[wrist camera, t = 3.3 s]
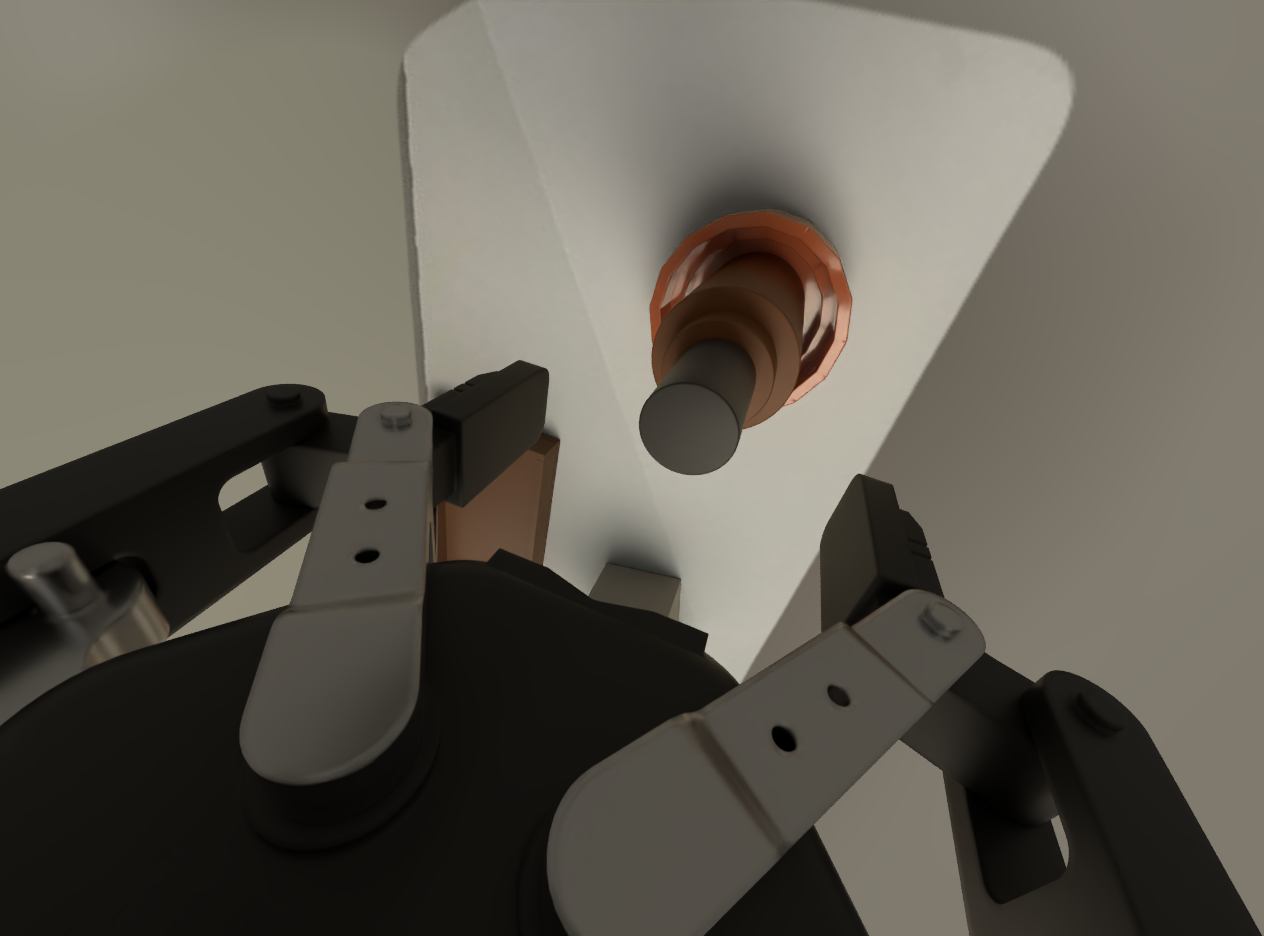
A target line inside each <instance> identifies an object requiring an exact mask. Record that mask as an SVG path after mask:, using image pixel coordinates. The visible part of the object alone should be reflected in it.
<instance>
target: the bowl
mask: <svg viewBox="0 0 1264 936" xmlns="http://www.w3.org/2000/svg"><path fill="white" fill-rule="evenodd" d="M752 252H763V253H769V254H773V255H776V256H778V257H780V258H782V259H783V260H785V261H786V262H788V263H789V264H790V265H791V266H792V267H793V268H794V270H795V271H796V272H797V274H798V275H799V277H800V279H801V282H802V284H803V288H804V293H805V310H804V325H803V339H802V353H801V366H800V372H799V376H798V380H797V383H796V385H795V388H794V390H793V392H792V394H791V395H790V397H789V398H788V400H787V401H786V403H785V404H784V405H783V406H786V405H789V404H792V403H794V402H796V401H798V400H799V399H800V398H801V397H803V396H804V395H805V394H806V393H808V392H809V391H810V390H811V389H813V388H814V387H815V386H816V385H818V384H819V383H820V382H821V381H823V380H824V379H825V378H826V377H827V375H828V374H829V372H830V370H831V369H832V367H833V365H834V363H835V362H836V360H837V358H838V356H839V355H840V353H841V351H842V350H843V348H844V346H845V344H846V341H847V338H848V330H849V323H850V315H851V307H852V296H851V293H850V290H849V287H848V283H847V280H846V277H845V274H844V270H843V267H842V264H841V261H840V258H839V255H838V253H837V250H836V249H835V247H834V246H833V245H832V244H831V243H830V242H829V240H828V239H827V238H826V237H825V236H824V235H823V234H822V233H821V232H820V231H819V230H818V229H817V228H816V227H815V226H814V225H813V224H812V223H811V222H809V221H808V220H806V219H803V218H800V217H798V216H795V215H792V214H789V213H787V212H784V211H781V210H778V209H774V208H771V209H761V210H751V211H741V212H736V213H732V214H729V215H725V216H722V217H721V218H719V219H717V220H715V221H714V222H712V223H710V224H708V225H706V226H705V227H703V228H701V229H699V230H698V231H696V232H694V233H692V234H690V235H689V236H687V237H686V238H685V239H684V241H683V242H682V243H681V244H680V246H679V247H678V248H677V249H676V251H675V252H674V253H673V254H672V256H671V257H670V258H669V260H668V261H667V262H666V263H665V265H664V266H663V267H662V269H661V271H660V274H659V277H658V280H657V283H656V287H655V290H654V293H653V297H652V300H651V303H650V322H651V336H652V343H654V339H655V335H656V333H657V330H658V328H659V326H660V324H661V322H662V321H663V319H664V318H665V316H666V315H667V314H668V312H669V311H670V310H671V309H672V308H673V307H674V306H675V305H676V304H677V303H679V302H680V301H681V300H682V299H683V298H685V297H686V296H687V295H688V294H689V293H691V292H692V291H693V290H694V289H695V288H696V287H698V286H699V285H700V284H701V283H702V282H704V281H705V280H706V279H707V278H708V277H710V276H711V275H712V274H713V273H714V272H716V271H717V270H718V269H719V268H720V267H722V266H723V265H724V264H725V263H727V262H728V261H730V260H731V259H733V258H735V257H737V256H740V255H743V254H746V253H752ZM783 406H782V407H783Z"/></svg>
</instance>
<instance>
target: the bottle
mask: <svg viewBox="0 0 1264 936" xmlns="http://www.w3.org/2000/svg"><path fill="white" fill-rule="evenodd" d="M804 310H805V293H804V288H803V284H802V282H801V279H800V277H799V275H798V274H797V272H796V271H795V270H794V268H793V267H792V266H791V265H790V264H789V263H788V262H786V261H785V260H783V259H782V258H780V257H778V256H776V255H773V254H769V253H763V252H752V253H746V254H743V255H740V256H737V257H735V258H733V259H731V260H730V261H728V262H727V263H725V264H724V265H723V266H722V267H720V268H719V269H718V270H717V271H716V272H714V273H713V274H712V275H711V276H710V277H708V278H707V279H706V280H705V281H704V282H702V283H701V284H700V285H699V286H698V287H696V288H695V289H694V290H693V291H692V292H691V293H689V294H688V295H687V296H686V297H685V298H683V299H682V300H681V301H680V302H679V303H677V304H676V305H675V306H674V307H673V308H672V309H671V310H670V311H669V312H668V314H667V315H666V316H665V318H664V319H663V321H662V322H661V324H660V326H659V328H658V330H657V333H656V335H655V339H654V343H653V348H652V369H653V374H654V378H655V382H656V384H657V386H658V387H657V388H656V389H655V390H654V392H653V393H652V394H651V395H650V397H649V398H648V399H647V400H646V402H645V404H644V405H643V408H642V410H641V414H640V419H639V430H640V435H641V439H642V441H643V444H644V446H645V448H646V449H647V451H648V452H649V454H650V455H651V456H652V457H653V458H654V459H655V460H656V461H657V462H658V463H660V464H661V465H662V466H664V467H665V468H667V469H669V470H671V471H674V472H677V473H680V474H686V475H702V474H706V473H710V472H713V471H715V470H717V469H719V468H720V467H722V466H723V465H725V464H726V463H727V462H728V461H729V460H730V458H731V457H732V456H733V454H734V453H735V451H736V448H737V446H738V443H739V439H740V436H741V432H742V429H746V428H750V427H752V426H755V425H757V424H760V423H761V422H763V421H765V420H767V419H768V418H770V417H771V416H772V415H774V414H775V413H776V412H777V411H778V410H779V409H780V408H781V407H782V406H783V405H784V404H785V403H786V401H787V400H788V398H789V397H790V395H791V394H792V392H793V390H794V388H795V385H796V383H797V380H798V376H799V372H800V366H801V353H802V339H803V325H804Z"/></svg>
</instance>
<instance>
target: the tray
mask: <svg viewBox="0 0 1264 936" xmlns="http://www.w3.org/2000/svg"><path fill="white" fill-rule="evenodd" d="M559 445H560V440H558V439H556V438H553V437H550V436H547V435H545V434H542V433H541V435H540V437H539V439H538V440H537V442H536V443H535V444H534V445H533V446H532V447H530V448H529V449H528V450H527V451H526V452H525V453H524V454H523V455H522V456H520V457H519V458H518V459H517V460H516V461H515V462H514V463H513V464H512V465H510V466H509V467H508V468H507V469H506V470H505V471H504V472H503V473H501V474H500V475H499V476H498V477H497V478H496V479H495V480H494V481H493V482H491V483H490V484H489V485H488V486H487V487H486V488H485V489H484V490H483V491H481V492H480V493H479V494H478V495H477V496H476V497H475V498H474V499H472V500H471V501H470V502H469V503H468V504H467V505H466V506H465V507H464V508H460V507H458V506H455V505H453V504H450V503H448V502H445V501H443V502H441V503H440V504H439V505H438V506H437V514H438V528H437V562H440V561H449V560H478V561H485V562H487V561H488V560H489V559H490V558H491V557H492V556H493V555H494V553H495V552H496V551H497V550H498V549H499V548H501V549H504V550H506V551H508V552H511V553H513V554H516V555H518V556H521V557H523V558H525V559H528V560H530V561H533V562H535V563H538V564H540V565H542V566H543V559H544V552H545V545H546V538H547V531H548V524H549V516H550V509H551V502H552V495H553V488H554V481H555V474H556V467H557V459H558V452H559Z"/></svg>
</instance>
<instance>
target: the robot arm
mask: <svg viewBox="0 0 1264 936" xmlns="http://www.w3.org/2000/svg"><path fill="white" fill-rule="evenodd" d="M548 386H549V372H548V370H547V369H546V368H543V367H540V366H537V365H534V364H531V363H528V362H525V361H522V360H518V361H516V362H515V363H513V364H511V365H509V366H507V367H506V368H504V369H502V370H500V371H499V372H498V371H495V372H490V373H485V374H481V375H477V376H476V377H474V378H472V379H470V380H468V381H466V382H465V384H461V385H459V386H457V387H455V388H454V390H450V391H448V392H446V393H444V394H442V395H441V396H439V397H437V398H435V399H433V400H431V401H429V402H428V403H426V404H424V405H422V406H420V405H417V404H413V403H408V402H386V403H380V404H376V405H373V406H371V407H368V408H367V409H365V410H363V411H362V412H361V413H360V415H359V417H357V416H351V415H345V414H338V413H332V412H328V410H327V405H326V400H325V395H324V394H323V392H321V391H320V390H318V389H316V388H314V387H311V386H306V385H300V384H279V385H271V386H266V387H262V388H259V389H256V390H253V391H251V392H248V393H246V394H243V395H240V396H238V397H236V398H233V399H230V400H228V401H225V402H223V403H220V404H218V405H215V406H213V407H210V408H207V409H205V410H202V411H200V412H197V413H194V414H192V415H189V416H187V417H184V418H182V419H179V420H176V421H174V422H171V423H169V424H167V425H164V426H161V427H159V428H156V429H153V430H151V431H148V432H146V433H143V434H141V435H138V436H135V437H133V438H130V439H128V440H125V441H123V442H120V443H117V444H115V445H112V446H110V447H107V448H105V449H102V450H100V451H97V452H94V453H92V454H89V455H87V456H84V457H82V458H79V459H77V460H74V461H71V462H69V463H66V464H64V465H61V466H59V467H56V468H53V469H51V470H48V471H46V472H43V473H41V474H38V475H35V476H33V477H30V478H28V479H25V480H23V481H20V482H18V483H15V484H12V485H10V486H7V487H5V488H2V489H0V936H869V935H868V933H867V931H866V929H865V927H864V925H863V923H862V921H861V919H860V917H859V915H858V913H857V911H856V909H855V907H854V905H853V903H852V901H851V899H850V897H849V895H848V893H847V891H846V889H845V887H844V885H843V883H842V881H841V879H840V877H839V875H838V873H837V870H836V868H835V866H834V864H833V863H832V861H831V858H830V856H829V854H828V852H827V850H826V848H825V846H824V844H823V843H822V840H821V838H820V836H819V834H818V832H817V830H816V828H815V826H814V824H815V823H816V822H817V821H818V819H820V818H821V816H823V815H824V814H825V813H826V812H827V811H828V809H830V807H832V806H833V805H834V804H835V802H837V801H838V799H840V798H841V797H842V796H843V795H844V794H845V793H846V792H847V791H848V790H849V789H850V788H851V787H852V786H853V785H854V784H855V782H857V781H858V780H859V779H860V778H861V777H862V776H863V775H864V773H866V772H867V770H869V769H870V768H871V767H872V766H873V764H875V763H876V762H877V761H878V760H879V759H880V758H881V757H882V756H883V754H885V753H886V751H888V750H889V749H890V748H891V747H892V746H893V745H894V744H895V743H896V741H897V740H901V741H902V742H903V743H905V744H906V745H908V746H909V747H910V748H912V749H913V750H915V751H916V752H917V753H919V754H920V755H921V756H923V757H924V758H926V759H927V760H928V761H930V762H931V763H932V764H934V765H935V766H937V767H938V768H939V769H941V770H942V771H943V777H944V783H945V789H946V795H947V802H948V807H949V814H950V820H951V826H952V832H953V838H954V845H955V851H956V857H957V863H958V869H959V875H960V881H961V888H962V894H963V900H964V906H965V912H966V918H967V924H968V930H969V936H1262V935H1261V933H1260V931H1259V929H1258V928H1257V926H1256V924H1255V922H1254V921H1253V919H1252V917H1251V915H1250V913H1249V911H1248V910H1247V908H1246V906H1245V904H1244V903H1243V901H1242V899H1241V897H1240V895H1239V894H1238V892H1237V890H1236V889H1235V887H1234V885H1233V883H1232V881H1231V880H1230V878H1229V876H1228V874H1227V872H1226V871H1225V869H1224V867H1223V865H1222V863H1221V862H1220V860H1219V858H1218V856H1217V855H1216V853H1215V851H1214V849H1213V847H1212V846H1211V844H1210V842H1209V840H1208V839H1207V837H1206V835H1205V833H1204V832H1203V830H1202V828H1201V826H1200V824H1199V823H1198V821H1197V819H1196V817H1195V816H1194V814H1193V812H1192V810H1191V808H1190V807H1189V805H1188V803H1187V801H1186V799H1185V798H1184V796H1183V794H1182V792H1181V791H1180V789H1179V787H1178V785H1177V783H1176V782H1175V780H1174V778H1173V776H1172V775H1171V773H1170V771H1169V769H1168V768H1167V766H1166V764H1165V762H1164V760H1163V758H1162V757H1161V755H1160V753H1159V752H1158V750H1157V748H1156V746H1155V744H1154V742H1153V741H1152V739H1151V737H1150V736H1149V734H1148V732H1147V731H1146V729H1145V728H1144V727H1143V725H1142V724H1141V723H1140V721H1139V720H1138V719H1137V718H1136V717H1135V716H1134V715H1133V714H1132V713H1131V712H1130V711H1129V710H1128V709H1127V708H1126V707H1125V706H1124V705H1123V704H1122V703H1121V702H1119V701H1118V700H1117V699H1116V698H1115V697H1113V696H1112V695H1111V694H1109V693H1108V692H1106V691H1105V690H1104V689H1102V688H1100V687H1099V686H1097V685H1095V684H1094V683H1092V682H1090V681H1089V680H1086V679H1085V678H1083V677H1080V676H1078V675H1075V674H1072V673H1070V672H1065V671H1057V670H1055V671H1050V672H1048V673H1046V674H1045V675H1044V676H1043V677H1042V678H1040V679H1039V680H1038V681H1037V682H1036V683H1034V682H1033V681H1031V680H1029V679H1028V678H1026V677H1024V676H1023V675H1021V674H1019V673H1018V672H1016V671H1014V670H1013V669H1011V668H1009V667H1007V666H1006V665H1004V664H1002V663H1001V662H999V661H997V660H996V659H994V658H993V657H991V656H989V655H988V654H987V653H985V649H986V643H985V639H984V636H983V634H982V632H981V631H980V629H979V628H978V626H977V625H976V624H975V622H974V621H973V620H972V619H971V618H970V617H969V616H968V615H967V614H966V613H965V612H964V611H962V610H961V609H960V608H959V607H957V606H956V605H954V604H953V603H952V602H950V601H948V600H946V599H945V598H944V595H943V592H942V589H941V586H940V582H939V579H938V576H937V573H936V570H935V567H934V564H933V561H931V554H930V551H929V548H927V542H926V539H925V536H924V533H923V530H922V528H921V527H920V526H919V524H918V523H917V522H916V521H915V520H914V518H913V517H912V516H911V515H910V513H909V512H907V511H904V510H901V509H899V505H898V502H897V498H896V494H895V491H894V487H893V485H892V484H889V483H886V482H883V481H880V480H877V479H874V478H871V477H868V476H865V475H862V474H857V475H856V476H855V477H854V478H853V480H852V481H851V483H850V484H849V486H848V488H847V490H846V491H845V493H844V495H843V497H842V498H841V500H840V502H839V504H838V505H837V507H836V509H835V511H834V512H833V514H832V516H831V518H830V519H829V521H828V523H827V525H826V527H825V530H824V532H823V535H822V539H821V543H820V571H821V572H820V575H821V633H820V634H819V635H817V636H816V637H814V638H813V639H811V640H810V641H808V642H806V643H805V644H803V645H801V646H800V647H798V648H797V649H795V650H794V651H792V652H790V653H789V654H787V655H786V656H784V657H783V658H781V659H779V660H778V661H776V662H775V663H773V664H772V665H770V666H768V667H767V668H765V669H764V670H762V671H760V672H759V673H757V674H756V675H754V676H753V677H751V678H749V679H748V680H746V681H745V682H743V683H742V684H740V685H739V683H738V682H737V681H736V680H735V678H734V677H733V676H732V675H731V674H730V673H729V672H728V671H727V670H726V669H725V668H724V667H723V666H721V665H720V664H719V663H718V662H717V661H716V660H714V659H713V658H712V657H711V656H709V655H708V654H706V653H705V652H704V651H705V647H706V642H707V638H708V633H705V632H703V631H700V630H698V629H695V628H693V627H691V626H688V625H686V624H683V623H681V622H678V621H676V620H674V619H671V618H669V617H666V616H664V615H661V614H659V613H657V612H654V611H649V610H644V609H638V608H633V607H628V606H622V605H617V604H612V603H606V602H601V601H597V600H594V599H592V598H590V597H589V596H587V595H586V594H584V593H583V592H581V591H580V590H579V589H577V588H576V587H574V586H573V585H572V584H570V583H569V582H567V581H566V580H564V579H563V578H562V577H560V576H559V575H557V574H556V573H555V572H553V571H552V570H550V569H549V568H547V567H545V566H542V565H540V564H538V563H535V562H533V561H530V560H528V559H525V558H523V557H521V556H518V555H516V554H513V553H511V552H508V551H506V550H504V549H501V548H499V549H498V550H497V551H496V552H495V553H494V555H493V556H492V557H491V558H490V559H489V560H488V561H487V562H485V561H478V560H449V561H440V562H437V528H438V514H437V506H438V505H439V504H440V503H441V502H443V501H445V502H448V503H450V504H453V505H455V506H458V507H460V508H464V507H465V506H466V505H467V504H468V503H469V502H470V501H471V500H472V499H474V498H475V497H476V496H477V495H478V494H479V493H480V492H481V491H483V490H484V489H485V488H486V487H487V486H488V485H489V484H490V483H491V482H493V481H494V480H495V479H496V478H497V477H498V476H499V475H500V474H501V473H503V472H504V471H505V470H506V469H507V468H508V467H509V466H510V465H512V464H513V463H514V462H515V461H516V460H517V459H518V458H519V457H520V456H522V455H523V454H524V453H525V452H526V451H527V450H528V449H529V448H530V447H532V446H533V445H534V444H535V443H536V442H537V440H538V439H539V437H540V435H541V433H542V431H543V428H544V423H545V415H546V405H547V395H548ZM260 462H261V463H262V466H263V469H264V473H265V476H266V480H267V483H268V485H267V486H265V487H263V488H262V489H260V490H258V491H256V492H255V493H253V494H251V495H250V496H248V497H246V498H244V499H243V500H241V501H239V502H238V503H236V504H235V505H233V506H231V507H229V508H228V509H226V510H224V511H221V508H220V506H219V503H218V496H219V493H220V490H221V488H222V487H223V485H224V484H225V483H226V482H227V481H228V480H229V479H231V478H232V477H234V476H236V475H238V474H240V473H242V472H243V471H245V470H247V469H249V468H251V467H253V466H255V465H257V464H258V463H260ZM310 532H312V533H311V537H310V540H309V544H308V547H307V550H306V553H305V556H304V560H303V563H302V566H301V570H300V573H299V576H298V579H297V583H296V586H295V589H294V593H293V596H292V599H291V602H290V604H289V605H286V606H283V607H279V608H276V609H273V610H269V611H266V612H263V613H259V614H256V615H253V616H249V617H246V618H242V619H239V620H236V621H232V622H229V623H226V624H222V625H219V626H215V627H212V628H208V629H205V630H202V631H199V632H195V633H191V634H188V635H185V636H182V637H178V638H175V639H172V640H168V641H166V640H167V638H168V637H170V636H171V635H172V634H173V633H175V632H176V631H178V630H179V629H180V628H182V627H183V626H184V625H186V624H187V623H188V622H190V621H191V620H192V619H194V618H195V617H196V616H198V615H199V614H201V613H202V612H203V611H205V610H206V609H207V608H209V607H210V606H211V605H213V604H214V603H216V602H217V601H218V600H219V599H221V598H222V597H223V596H225V595H226V594H228V593H229V592H230V591H232V590H233V589H234V588H236V587H237V586H239V584H241V583H243V582H244V581H245V580H247V579H248V578H249V577H251V576H252V575H253V574H255V573H256V572H257V571H259V570H260V569H261V568H263V567H264V566H265V565H267V564H268V563H270V562H271V561H272V560H274V559H275V558H276V557H278V556H279V555H280V554H282V553H283V552H285V551H286V550H287V549H288V548H290V547H291V546H293V545H294V544H295V543H297V542H298V541H299V540H301V539H302V538H303V537H305V536H306V535H307V534H309V533H310ZM1058 815H1059V817H1060V819H1061V823H1062V826H1063V829H1064V831H1065V834H1066V838H1067V841H1068V846H1069V860H1068V865H1067V868H1066V866H1065V863H1064V859H1063V856H1062V853H1061V851H1060V847H1059V844H1058V841H1057V838H1056V835H1055V832H1054V829H1053V826H1052V823H1051V819H1052V818H1054V817H1056V816H1058Z"/></svg>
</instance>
